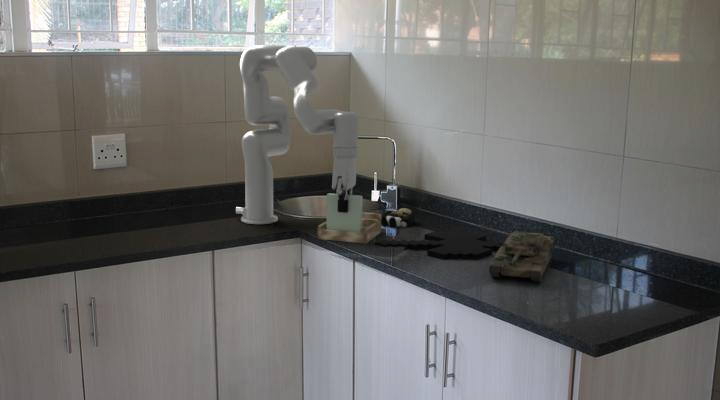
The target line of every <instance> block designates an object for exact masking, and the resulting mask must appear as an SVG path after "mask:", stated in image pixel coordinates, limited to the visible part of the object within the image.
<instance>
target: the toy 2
mask: <svg viewBox="0 0 720 400" xmlns="http://www.w3.org/2000/svg"><path fill="white" fill-rule="evenodd" d="M555 239H556V237H555V236H549V235H545V234H544V233H542V232H536V231H535V232H533V231H524V230H515V231H513V232H510V233H509V235H508V236H507V237H506V239H505V240H504V242H503V243H502V246H501V247H500V248H499V250H498V251H496V253H495V255H494V257H493V259H492V261H491V262H490V264H489V267H488V272H489V276H491V277H492V278H498V279H499V278H502V277H503V276H508V277H514V278H523V279H530V280H531V281H532V282H533V283H543V280H544V279H545V277H546V275H547V272H548V271H549V268H550V267H551V266H552V260H553V256H554V249H555V246H556V243H555Z"/></svg>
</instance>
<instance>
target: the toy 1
mask: <svg viewBox="0 0 720 400" xmlns="http://www.w3.org/2000/svg"><path fill="white" fill-rule="evenodd" d="M380 214H381V227H388V226H389V228H392V229H393V228H399V227H403V228H404V227H406V228H409V227H410V226H411V225H413V224H414V223H416V216H415V212H414V210H413V209H411V208H410V207H406V208H405V207H402V208H399V209H397V210H390V209H389V210H388V209H387V210H385V211H383V212H382V213H380Z"/></svg>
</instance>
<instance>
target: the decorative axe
mask: <svg viewBox="0 0 720 400" xmlns="http://www.w3.org/2000/svg"><path fill="white" fill-rule="evenodd" d="M487 237H488V236H487V235H483V234H480V233H476V232H475V233H474V232H470V231H457V230H455V231H447V230H446V231H437V230H436V231H433V232H432V231H431V232H429V233H424V239H422V240H415V239H413V240H405V239H401V240H396V239H392V240H386V239H381V240H378V241H377V240H376V241H374V245H375V246H378V247H382V248H387V247H393V248H398V247H403V248H404V249H403V251H408V250H412V251H418V250H420V251H427V254H426V255H427V257H431V258H433V259H439V260H445V261H447V260H449V259H450V260H453V261H456V260H464V261H467V260H473V261H477V260H480V259H484V258H487V257H490V256H493V252H497V251H498V250H499V248H500V247H501V246H502V245H503V242H499V241H495V240H488V241H487Z"/></svg>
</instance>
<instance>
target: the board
mask: <svg viewBox="0 0 720 400" xmlns="http://www.w3.org/2000/svg"><path fill="white" fill-rule="evenodd" d="M363 197H364V196H363V195H357V194H356V195H355V194H352V195H347V200H348V212H347V213H343V212H338V195H337V194H336V193H330V192H329V193H327V194H326V221H327V229H328V230H339V231H350V232H361V233H362V212H363Z"/></svg>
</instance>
